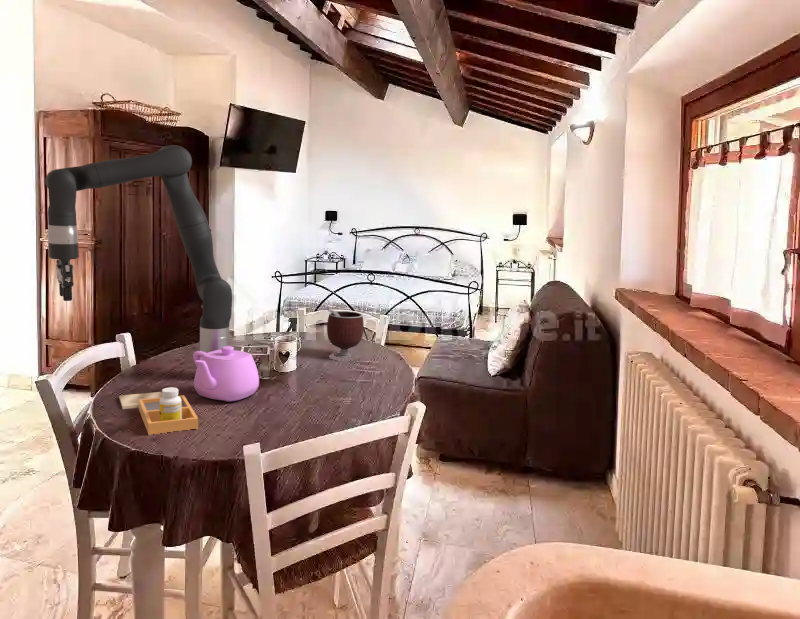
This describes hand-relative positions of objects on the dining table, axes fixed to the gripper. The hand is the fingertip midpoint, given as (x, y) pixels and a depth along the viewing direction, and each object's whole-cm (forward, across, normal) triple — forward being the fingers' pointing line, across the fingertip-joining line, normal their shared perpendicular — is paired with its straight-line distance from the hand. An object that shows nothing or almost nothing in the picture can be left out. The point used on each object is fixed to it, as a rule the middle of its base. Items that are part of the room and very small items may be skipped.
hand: (65, 298), depth 182 cm
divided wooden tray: (+28, -34, -19) cm, 48 cm away
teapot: (+29, -20, -40) cm, 53 cm away
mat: (+28, -16, -17) cm, 37 cm away
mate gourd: (+29, +7, -94) cm, 99 cm away
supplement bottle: (+28, -38, -19) cm, 51 cm away
